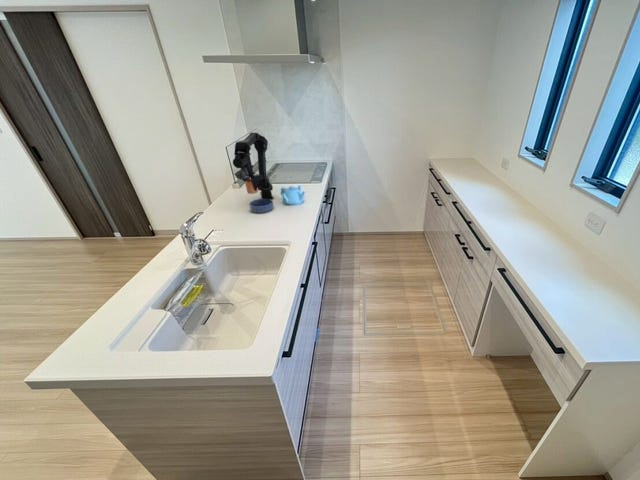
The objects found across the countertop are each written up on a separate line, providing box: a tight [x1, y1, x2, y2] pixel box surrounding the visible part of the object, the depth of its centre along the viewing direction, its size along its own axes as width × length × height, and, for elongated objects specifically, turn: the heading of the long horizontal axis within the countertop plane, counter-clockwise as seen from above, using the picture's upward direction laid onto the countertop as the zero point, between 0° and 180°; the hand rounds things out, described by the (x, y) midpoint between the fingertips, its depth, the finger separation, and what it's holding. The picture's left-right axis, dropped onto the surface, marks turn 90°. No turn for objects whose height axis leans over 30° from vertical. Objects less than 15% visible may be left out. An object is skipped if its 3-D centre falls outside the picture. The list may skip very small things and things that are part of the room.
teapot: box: [280, 185, 306, 206], centre depth 207 cm, size 15×15×11 cm
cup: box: [244, 178, 259, 195], centre depth 193 cm, size 6×6×8 cm
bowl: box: [248, 198, 274, 214], centre depth 197 cm, size 14×14×5 cm
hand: (252, 189), depth 194 cm, fingers closed on cup, 6 cm apart
